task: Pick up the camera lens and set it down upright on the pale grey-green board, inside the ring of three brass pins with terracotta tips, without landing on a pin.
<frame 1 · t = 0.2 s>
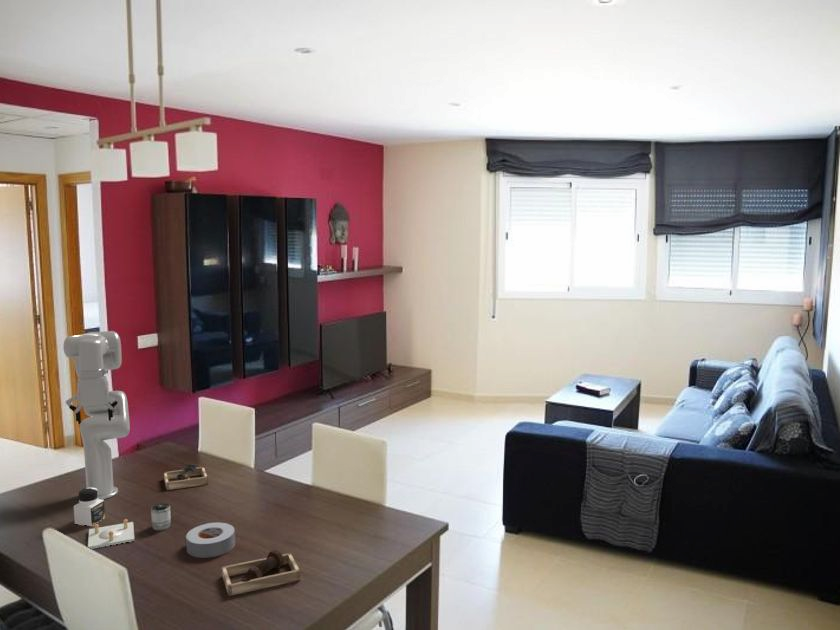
hand: (94, 421, 233), 36 cm above the table, tool pointing down, fingers open, 9 cm apart
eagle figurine: (186, 482, 273), on the table
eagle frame: (185, 481, 273), on the table
tape roll: (211, 547, 218), on the table
camera lens: (161, 527, 232), on the table
bolt: (261, 577, 199), touching bolt frame
pin board: (111, 536, 225), on the table
medicine bottle: (90, 522, 236), on the table
bolt frame: (261, 578, 199), on the table
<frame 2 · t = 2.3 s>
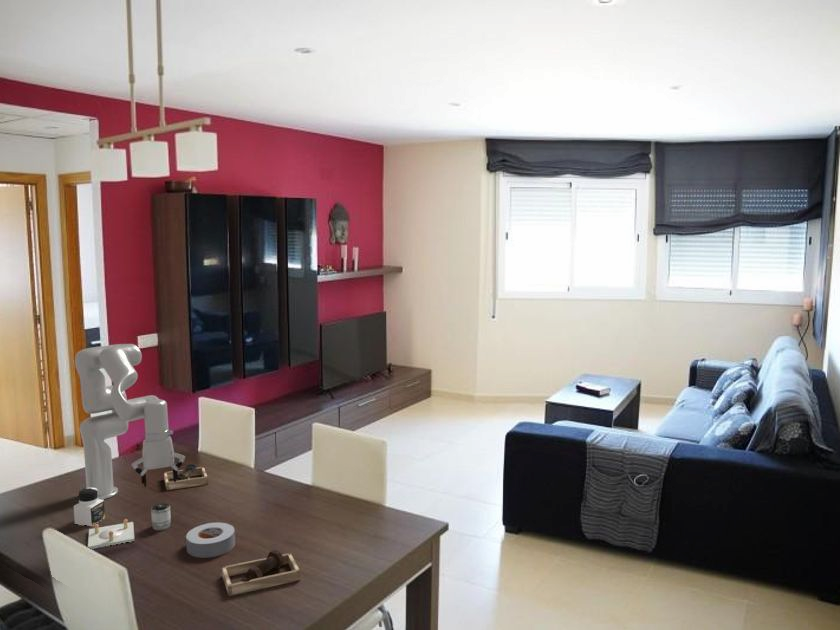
hand: (160, 482, 230), 16 cm above the table, tool pointing down, fingers open, 9 cm apart
nothing on the table moved.
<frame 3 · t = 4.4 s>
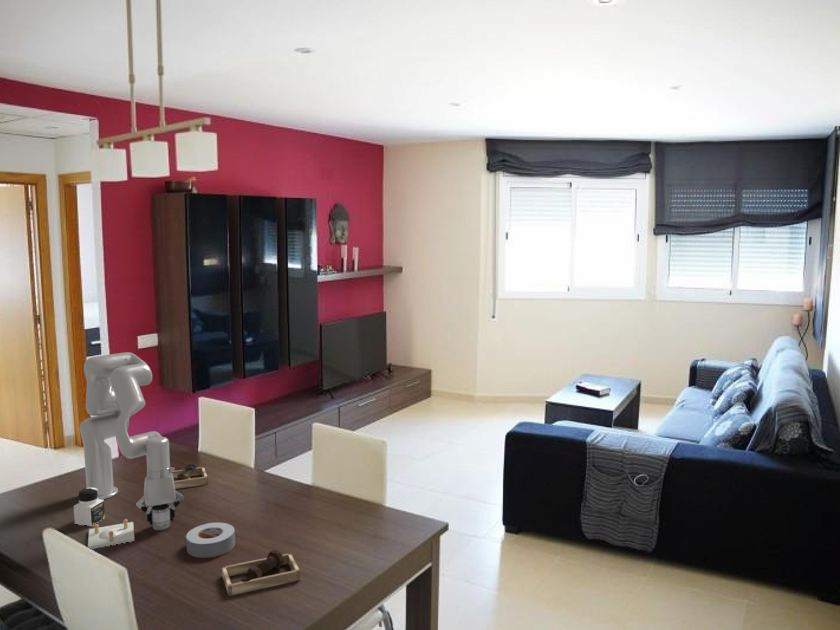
hand: (161, 520, 232), 2 cm above the table, tool pointing down, fingers closed on camera lens, 6 cm apart
camera lens: (161, 527, 232), on the table, touching gripper
everything else where it was.
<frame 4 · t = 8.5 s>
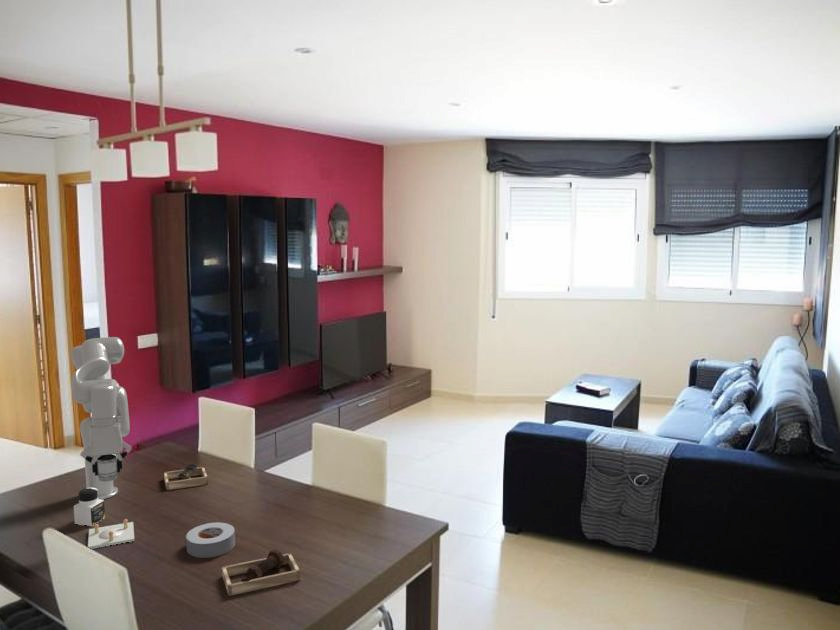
hand: (107, 472, 222), 23 cm above the table, tool pointing down, fingers closed on camera lens, 6 cm apart
camera lens: (108, 479, 222), point 21 cm above the table, touching gripper
everything else where it was.
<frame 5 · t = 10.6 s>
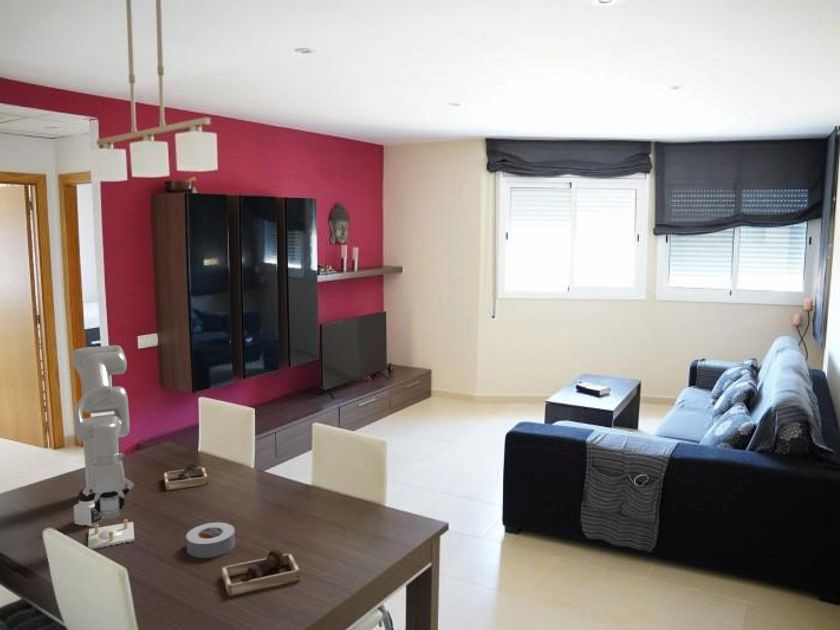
hand: (109, 509, 223), 10 cm above the table, tool pointing down, fingers closed on camera lens, 6 cm apart
camera lens: (110, 515, 223), point 8 cm above the table, touching gripper
everything else where it was.
when the fingers open (5 cm above the table, at t = 12.5 s): camera lens drops 2 cm, resting on pin board.
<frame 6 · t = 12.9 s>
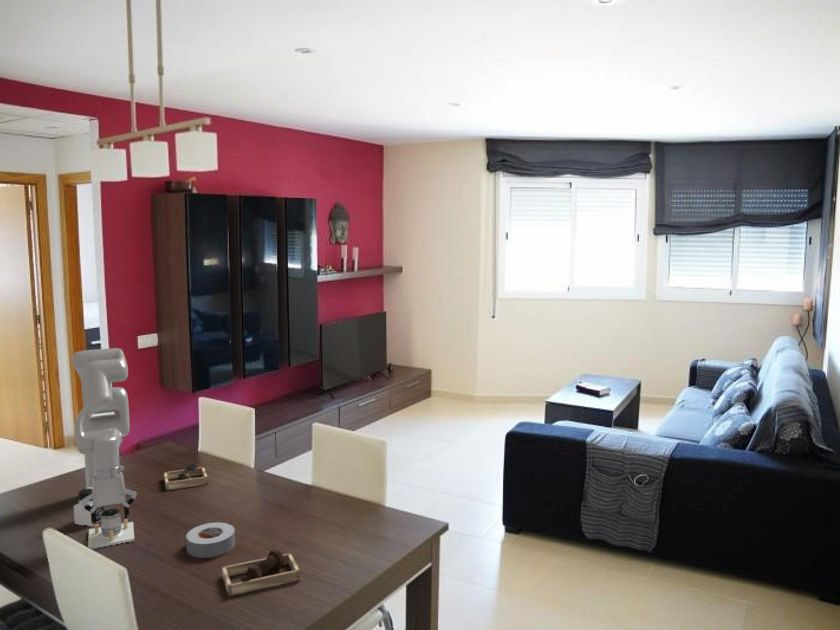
hand: (110, 520, 224), 6 cm above the table, tool pointing down, fingers open, 9 cm apart
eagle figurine: (187, 481, 274), on the table, touching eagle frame
camera lens: (111, 533, 225), point 1 cm above the table, touching pin board
everything else where it was.
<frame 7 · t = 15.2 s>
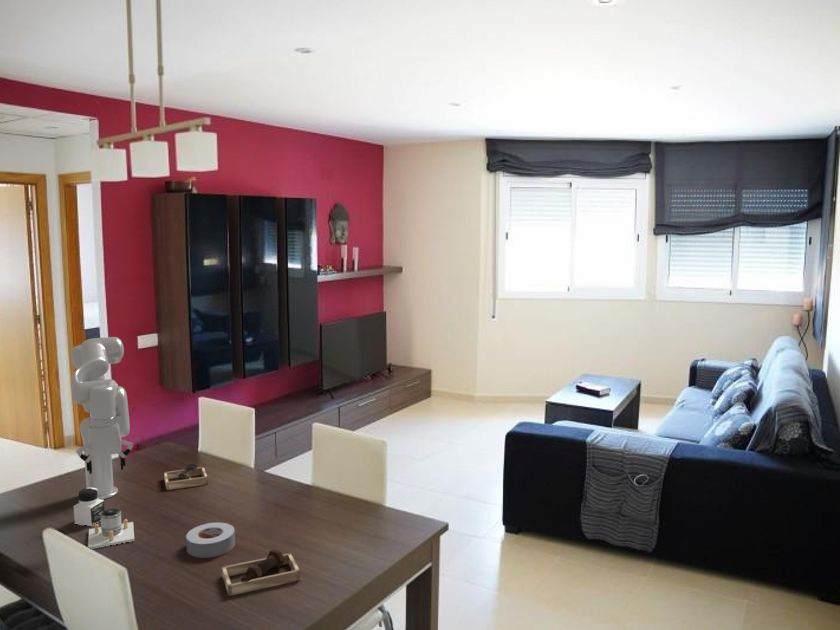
hand: (106, 470, 223), 23 cm above the table, tool pointing down, fingers open, 9 cm apart
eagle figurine: (187, 481, 274), on the table
everything else where it was.
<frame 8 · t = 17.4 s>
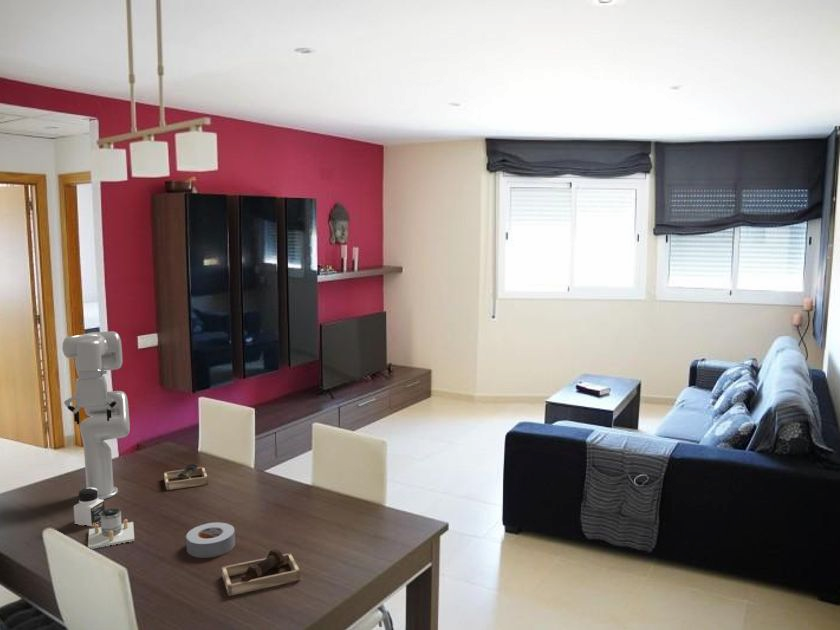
hand: (93, 421, 233), 36 cm above the table, tool pointing down, fingers open, 9 cm apart
nothing on the table moved.
at the end: camera lens 0.2 cm off-centre on the pin board, point 1.0 cm above the pin board's base; camera lens tilted 0°; the gripper is holding nothing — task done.
